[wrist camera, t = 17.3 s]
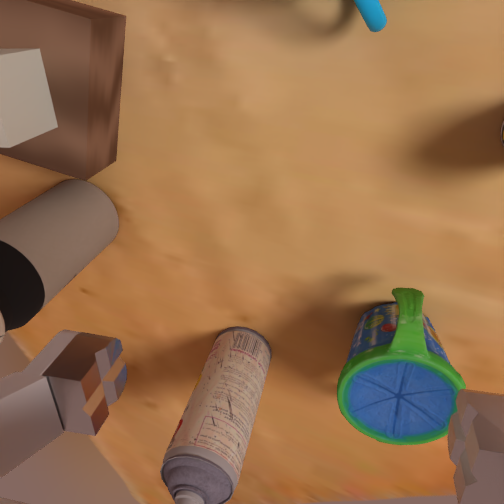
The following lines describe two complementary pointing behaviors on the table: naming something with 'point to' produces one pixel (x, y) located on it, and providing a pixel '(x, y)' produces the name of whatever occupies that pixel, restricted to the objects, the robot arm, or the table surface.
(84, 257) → the travel mug
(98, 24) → the walnut block
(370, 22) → the mug
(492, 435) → the robot arm
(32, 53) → the light gray cube
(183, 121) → the table surface
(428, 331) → the snack cup
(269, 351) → the aerosol can
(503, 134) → the supplement bottle
